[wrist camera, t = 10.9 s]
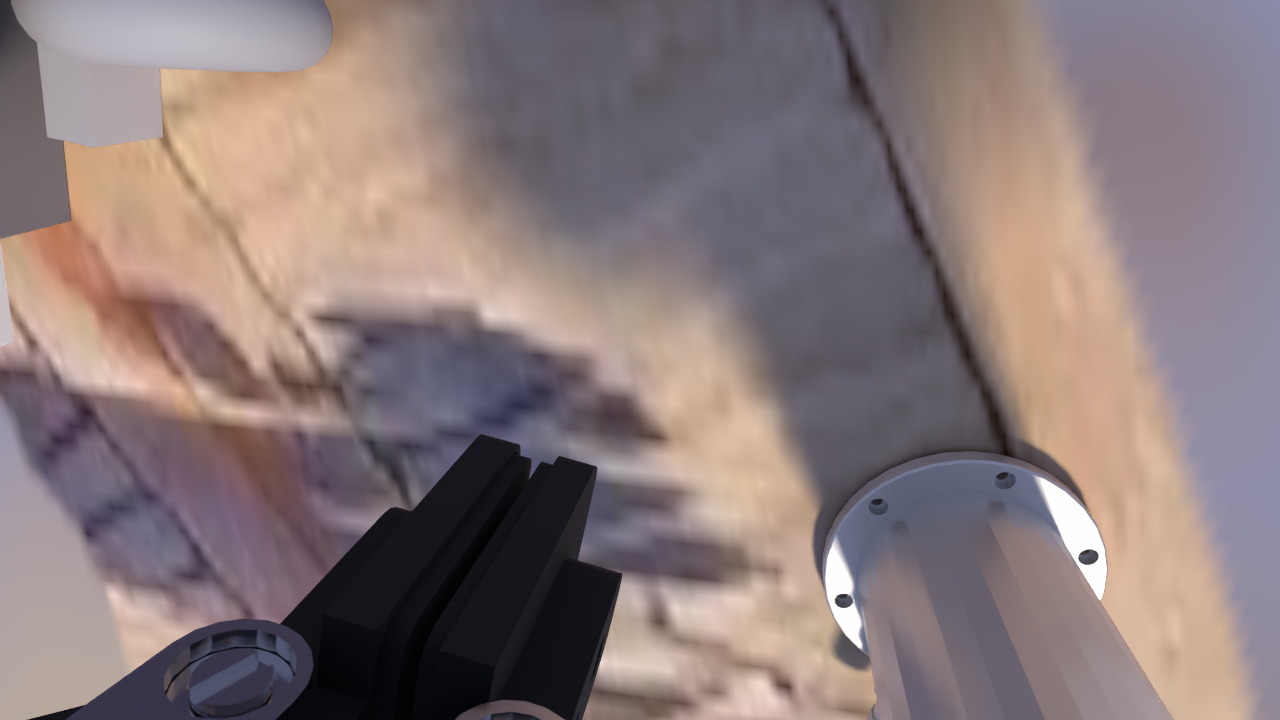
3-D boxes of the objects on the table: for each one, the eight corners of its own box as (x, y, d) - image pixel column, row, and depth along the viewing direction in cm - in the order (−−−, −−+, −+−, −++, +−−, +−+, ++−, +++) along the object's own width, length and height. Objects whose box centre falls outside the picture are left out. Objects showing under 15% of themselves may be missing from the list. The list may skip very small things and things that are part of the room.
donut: (377, -19, 31) (218, -47, 22) (383, 72, 33) (235, 82, 23) (149, -32, 32) (-94, -64, 23) (163, 57, 34) (-61, 60, 24)
